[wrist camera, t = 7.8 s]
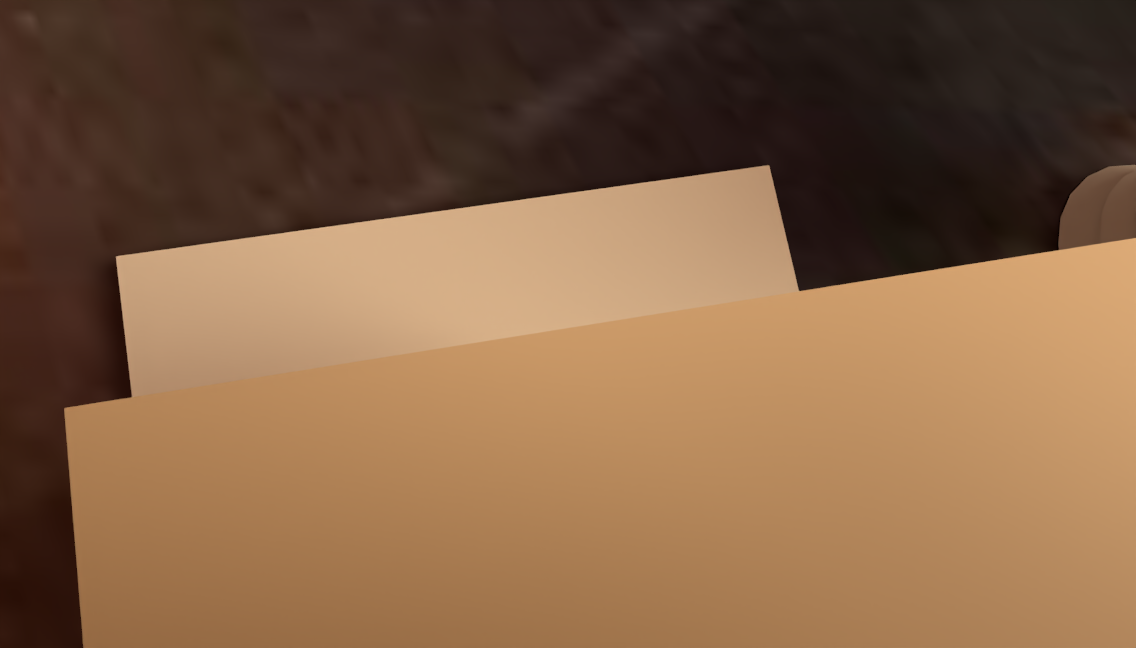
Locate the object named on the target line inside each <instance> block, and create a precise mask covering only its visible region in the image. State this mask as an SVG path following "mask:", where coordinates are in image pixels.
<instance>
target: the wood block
mask: <svg viewBox="0 0 1136 648" xmlns="http://www.w3.org/2000/svg"><path fill="white" fill-rule="evenodd" d="M64 412H65V425H66V437H67V450H68V462H69V474H70V487H71V499H72V512H73V524H74V537H75V549H76V561H77V574H78V586H79V599H80V611H81V624H82V636H83V648H1136V238H1133V239H1126V240H1120V241H1114V242H1107V243H1101V244H1095V245H1088V246H1082V247H1076V248H1070V249H1063V250H1057V251H1051V252H1044V253H1038V254H1032V255H1025V256H1019V257H1013V258H1007V259H1000V260H994V261H988V262H981V263H975V264H969V265H962V266H956V267H950V268H944V269H937V270H931V271H925V272H918V273H912V274H906V275H899V276H893V277H887V278H881V279H874V280H868V281H862V282H855V283H849V284H843V285H836V286H830V287H824V288H818V289H811V290H805V291H799V292H792V293H786V294H780V295H773V296H767V297H761V298H755V299H748V300H742V301H736V302H729V303H723V304H717V305H710V306H704V307H698V308H692V309H685V310H679V311H673V312H666V313H660V314H654V315H647V316H641V317H635V318H629V319H622V320H616V321H610V322H603V323H597V324H591V325H584V326H578V327H572V328H566V329H559V330H553V331H547V332H540V333H534V334H528V335H521V336H515V337H509V338H503V339H496V340H490V341H484V342H477V343H471V344H465V345H458V346H452V347H446V348H440V349H433V350H427V351H421V352H414V353H408V354H402V355H395V356H389V357H383V358H377V359H370V360H364V361H358V362H351V363H345V364H339V365H332V366H326V367H320V368H314V369H307V370H301V371H295V372H288V373H282V374H276V375H269V376H263V377H257V378H251V379H244V380H238V381H232V382H225V383H219V384H213V385H206V386H200V387H194V388H188V389H181V390H175V391H169V392H162V393H156V394H150V395H143V396H137V397H131V398H125V399H118V400H112V401H106V402H99V403H93V404H87V405H80V406H74V407H68V408H64Z"/></svg>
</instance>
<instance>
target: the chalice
mask: <svg viewBox="0 0 1136 648" xmlns="http://www.w3.org/2000/svg"><path fill="white" fill-rule="evenodd" d="M1133 238H1136V165H1125V166H1109V167H1107V168H1105V169H1103V170H1100V171H1098V172H1096V173H1094V174H1092V175H1089V176H1087V177H1086V178H1085V179H1084V180H1083V182H1082V183H1081V184H1080V185H1079V186H1078V187H1077V188H1076V189H1075V190H1074V191H1073V192H1072V193H1071V194H1070V196H1069V199H1068V201H1067V204H1066V206H1065V208H1064V211H1063V213H1062V215H1061V218H1060V230H1059V242H1058V247H1059V250H1063V249H1070V248H1076V247H1082V246H1088V245H1095V244H1101V243H1107V242H1114V241H1120V240H1126V239H1133Z"/></svg>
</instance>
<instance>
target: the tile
mask: <svg viewBox="0 0 1136 648" xmlns="http://www.w3.org/2000/svg"><path fill="white" fill-rule="evenodd" d="M116 262H117V271H118V280H119V288H120V297H121V306H122V314H123V323H124V332H125V340H126V349H127V358H128V366H129V375H130V384H131V393H132V397H137V396H143V395H150V394H156V393H162V392H169V391H175V390H181V389H188V388H194V387H200V386H206V385H213V384H219V383H225V382H232V381H238V380H244V379H251V378H257V377H263V376H269V375H276V374H282V373H288V372H295V371H301V370H307V369H314V368H320V367H326V366H332V365H339V364H345V363H351V362H358V361H364V360H370V359H377V358H383V357H389V356H395V355H402V354H408V353H414V352H421V351H427V350H433V349H440V348H446V347H452V346H458V345H465V344H471V343H477V342H484V341H490V340H496V339H503V338H509V337H515V336H521V335H528V334H534V333H540V332H547V331H553V330H559V329H566V328H572V327H578V326H584V325H591V324H597V323H603V322H610V321H616V320H622V319H629V318H635V317H641V316H647V315H654V314H660V313H666V312H673V311H679V310H685V309H692V308H698V307H704V306H710V305H717V304H723V303H729V302H736V301H742V300H748V299H755V298H761V297H767V296H773V295H780V294H786V293H792V292H799V289H798V285H797V281H796V277H795V273H794V268H793V264H792V260H791V256H790V251H789V247H788V243H787V239H786V235H785V230H784V226H783V222H782V218H781V213H780V209H779V205H778V201H777V197H776V192H775V188H774V184H773V180H772V175H771V171H770V167H769V165H767V166H760V167H753V168H746V169H738V170H731V171H724V172H717V173H710V174H703V175H695V176H688V177H681V178H674V179H667V180H660V181H652V182H645V183H638V184H631V185H624V186H617V187H609V188H602V189H595V190H588V191H581V192H574V193H567V194H559V195H552V196H545V197H538V198H531V199H524V200H516V201H509V202H502V203H495V204H488V205H481V206H473V207H466V208H459V209H452V210H445V211H438V212H430V213H423V214H416V215H409V216H402V217H395V218H388V219H380V220H373V221H366V222H359V223H352V224H345V225H337V226H330V227H323V228H316V229H309V230H302V231H294V232H287V233H280V234H273V235H266V236H259V237H251V238H244V239H237V240H230V241H223V242H216V243H209V244H201V245H194V246H187V247H180V248H173V249H166V250H158V251H151V252H144V253H137V254H130V255H123V256H116Z"/></svg>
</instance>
